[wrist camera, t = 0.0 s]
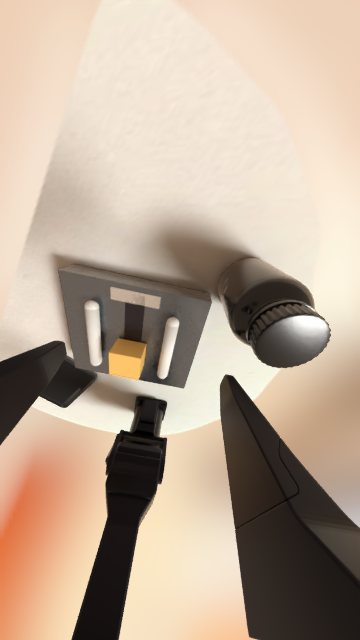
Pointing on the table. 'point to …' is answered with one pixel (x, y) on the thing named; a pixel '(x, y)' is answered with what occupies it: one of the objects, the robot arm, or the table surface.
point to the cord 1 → (93, 331)
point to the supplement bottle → (272, 313)
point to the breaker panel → (134, 318)
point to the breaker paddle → (127, 359)
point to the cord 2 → (167, 346)
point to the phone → (68, 383)
